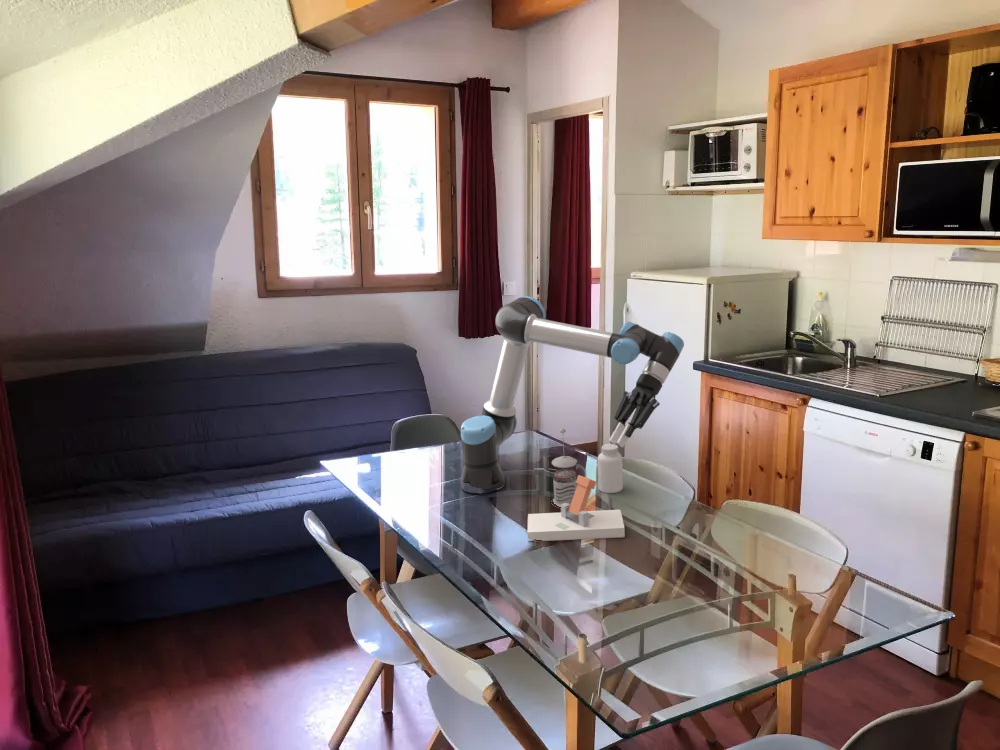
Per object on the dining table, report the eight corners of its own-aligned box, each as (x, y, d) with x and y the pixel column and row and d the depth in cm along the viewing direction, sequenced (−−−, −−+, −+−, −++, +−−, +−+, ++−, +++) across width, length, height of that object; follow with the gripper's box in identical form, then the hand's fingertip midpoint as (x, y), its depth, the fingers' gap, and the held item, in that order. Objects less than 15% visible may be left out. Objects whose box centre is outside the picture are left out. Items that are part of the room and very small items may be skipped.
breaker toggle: (570, 517, 240) (584, 477, 240) (582, 523, 236) (596, 481, 237) (564, 516, 238) (578, 474, 239) (575, 521, 234) (589, 479, 235)
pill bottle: (622, 494, 260) (621, 450, 256) (597, 493, 261) (595, 450, 257) (623, 484, 267) (622, 441, 263) (599, 483, 269) (597, 441, 265)
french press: (550, 496, 263) (546, 424, 256) (586, 493, 262) (582, 421, 255) (551, 509, 253) (547, 434, 246) (588, 507, 252) (585, 432, 246)
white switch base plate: (528, 541, 233) (526, 519, 231) (528, 523, 245) (527, 502, 243) (624, 537, 232) (623, 515, 230) (620, 518, 243) (619, 497, 241)
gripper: (677, 389, 244) (641, 456, 239) (639, 380, 256) (604, 443, 251) (665, 376, 239) (628, 444, 234) (627, 368, 251) (591, 432, 246)
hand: (616, 443), depth 242 cm, fingers open, 3 cm apart
